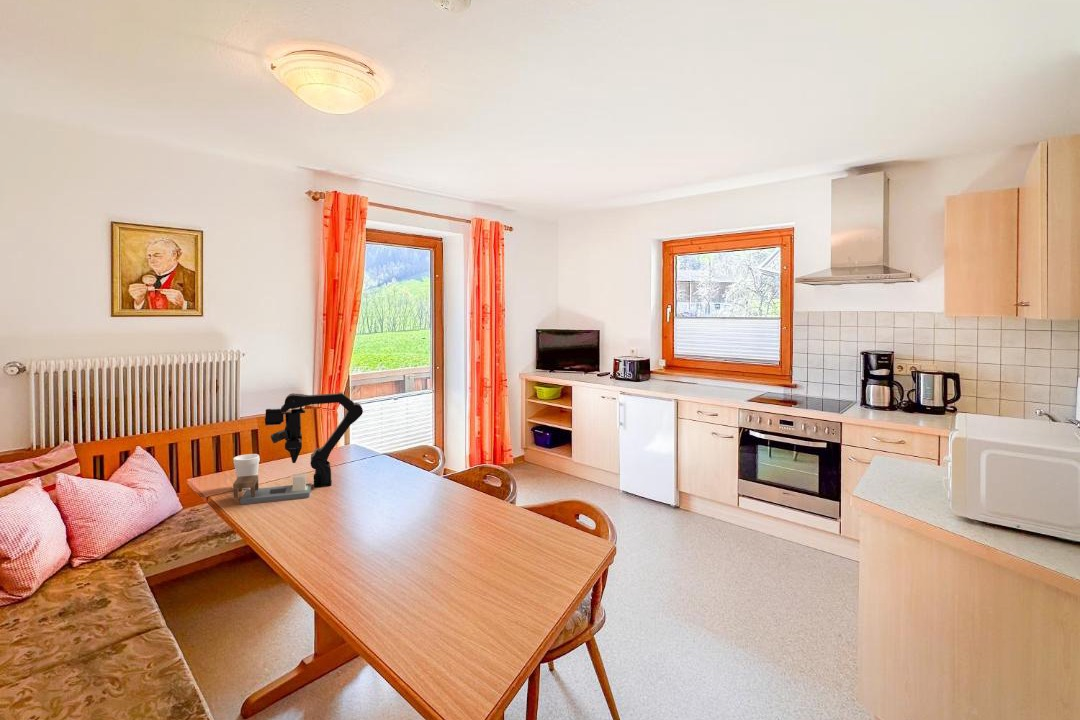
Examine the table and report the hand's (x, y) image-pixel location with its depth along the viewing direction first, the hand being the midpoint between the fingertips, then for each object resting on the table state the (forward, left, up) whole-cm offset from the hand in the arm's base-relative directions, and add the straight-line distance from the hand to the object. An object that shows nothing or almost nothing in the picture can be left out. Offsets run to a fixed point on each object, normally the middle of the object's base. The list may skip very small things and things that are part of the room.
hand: (294, 460), depth 206 cm
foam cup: (+19, -8, -12) cm, 24 cm away
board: (+5, +8, -12) cm, 16 cm away
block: (-3, +8, -10) cm, 13 cm away
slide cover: (+16, +8, -10) cm, 21 cm away
